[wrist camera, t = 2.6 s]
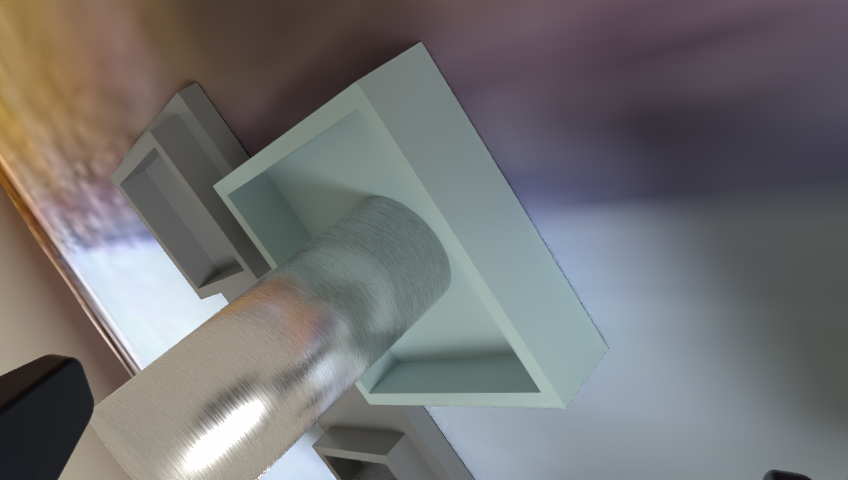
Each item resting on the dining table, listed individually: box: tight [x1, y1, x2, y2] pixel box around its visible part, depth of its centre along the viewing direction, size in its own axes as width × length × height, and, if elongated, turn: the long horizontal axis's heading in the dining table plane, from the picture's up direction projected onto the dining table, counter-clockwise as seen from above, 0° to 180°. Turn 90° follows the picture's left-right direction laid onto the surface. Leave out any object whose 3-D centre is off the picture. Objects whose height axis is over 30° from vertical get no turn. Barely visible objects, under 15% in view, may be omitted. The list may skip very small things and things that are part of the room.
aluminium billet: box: [90, 196, 451, 480], centre depth 21 cm, size 4×4×11 cm
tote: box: [213, 41, 608, 408], centre depth 24 cm, size 11×11×3 cm
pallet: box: [110, 82, 474, 480], centre depth 34 cm, size 27×10×2 cm, turn 41°
